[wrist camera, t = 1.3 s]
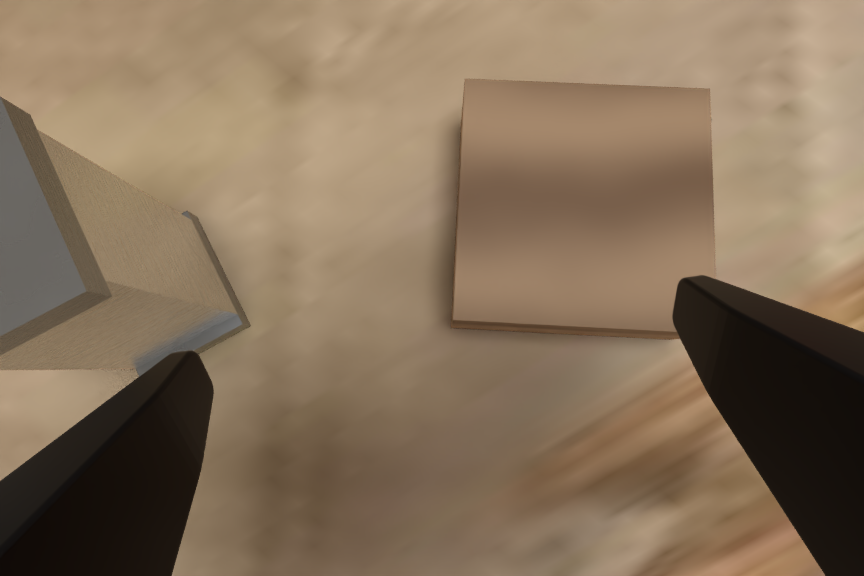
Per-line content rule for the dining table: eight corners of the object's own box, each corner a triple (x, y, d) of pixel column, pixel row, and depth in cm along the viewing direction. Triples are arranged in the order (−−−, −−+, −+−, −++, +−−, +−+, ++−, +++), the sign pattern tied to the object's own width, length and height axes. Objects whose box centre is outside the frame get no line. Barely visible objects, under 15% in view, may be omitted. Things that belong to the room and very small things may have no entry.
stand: (669, 339, 23) (717, 334, 19) (450, 327, 23) (453, 319, 19) (666, 133, 24) (709, 88, 21) (460, 124, 25) (464, 78, 21)
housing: (250, 325, 23) (86, 291, 13) (153, 378, 23) (-102, 389, 12) (197, 217, 24) (-1, 96, 13) (102, 266, 24) (-179, 183, 13)
